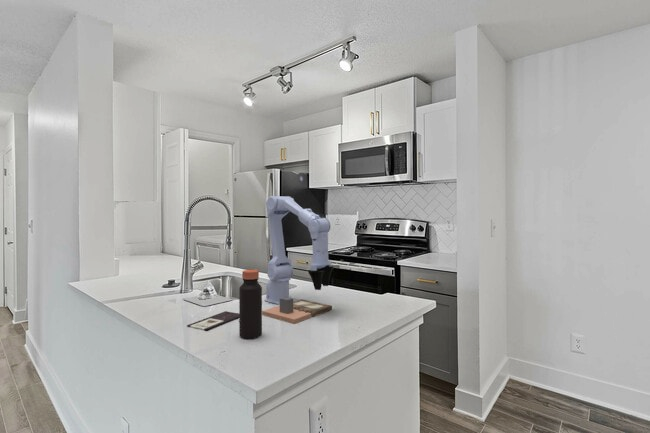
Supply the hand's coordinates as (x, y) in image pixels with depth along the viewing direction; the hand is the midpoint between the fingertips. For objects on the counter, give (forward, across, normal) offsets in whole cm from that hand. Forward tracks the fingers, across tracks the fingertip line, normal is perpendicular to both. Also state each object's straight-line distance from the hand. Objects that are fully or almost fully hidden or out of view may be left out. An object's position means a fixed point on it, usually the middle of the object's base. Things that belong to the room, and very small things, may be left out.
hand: (321, 287), depth 133 cm
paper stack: (+7, -2, +58) cm, 59 cm away
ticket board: (+9, +4, +8) cm, 13 cm away
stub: (+9, -7, +12) cm, 16 cm away
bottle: (+10, -28, +13) cm, 32 cm away
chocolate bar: (+9, -21, +31) cm, 39 cm away
